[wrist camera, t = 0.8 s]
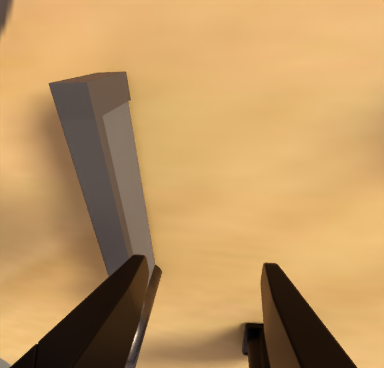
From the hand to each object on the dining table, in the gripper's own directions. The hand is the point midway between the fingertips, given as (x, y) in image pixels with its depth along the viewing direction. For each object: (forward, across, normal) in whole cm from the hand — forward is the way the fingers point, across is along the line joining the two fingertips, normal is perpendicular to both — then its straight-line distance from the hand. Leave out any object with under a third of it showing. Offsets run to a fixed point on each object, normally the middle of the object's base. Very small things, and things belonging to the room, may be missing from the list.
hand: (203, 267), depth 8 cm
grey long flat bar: (+11, +7, +4) cm, 14 cm away
